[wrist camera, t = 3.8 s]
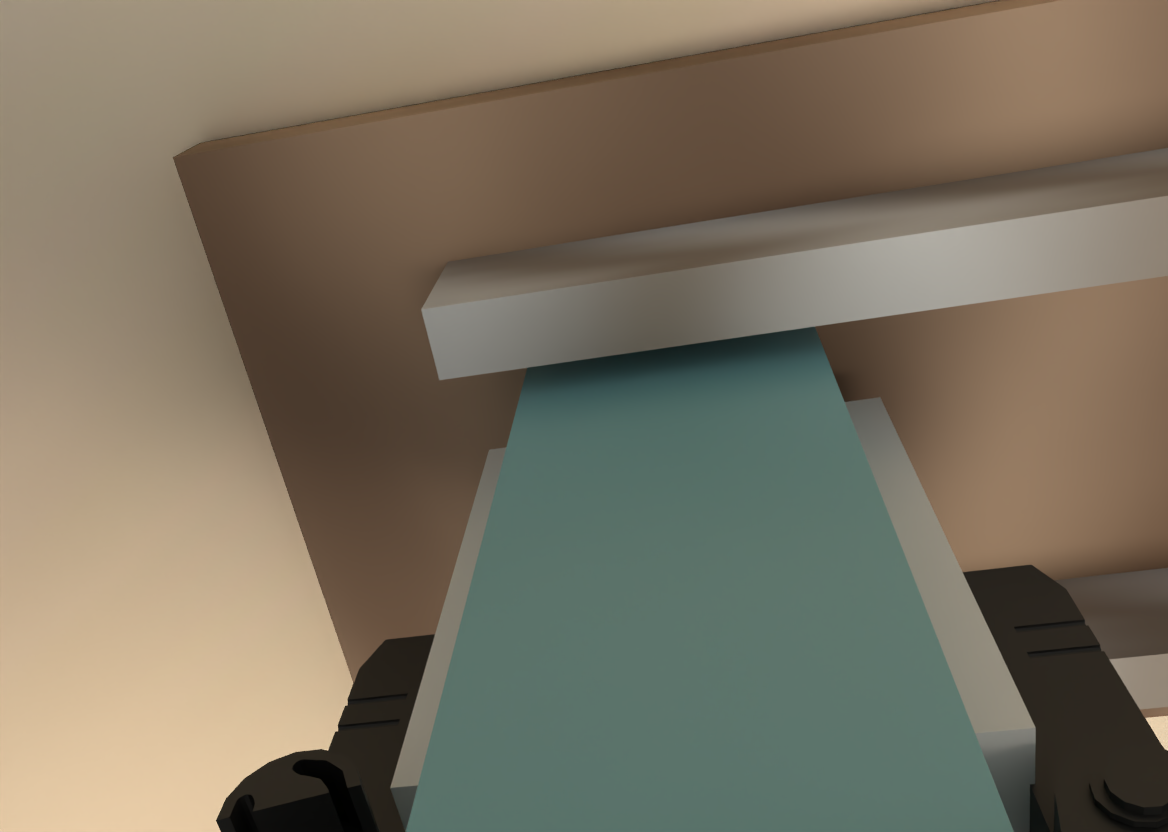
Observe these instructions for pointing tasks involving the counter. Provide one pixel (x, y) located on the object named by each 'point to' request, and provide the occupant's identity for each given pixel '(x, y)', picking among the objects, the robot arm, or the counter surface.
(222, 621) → the counter surface
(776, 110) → the rail track
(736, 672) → the carriage
